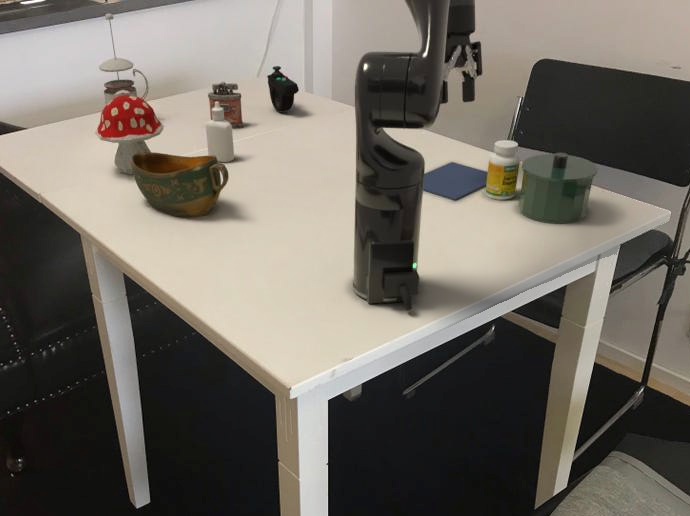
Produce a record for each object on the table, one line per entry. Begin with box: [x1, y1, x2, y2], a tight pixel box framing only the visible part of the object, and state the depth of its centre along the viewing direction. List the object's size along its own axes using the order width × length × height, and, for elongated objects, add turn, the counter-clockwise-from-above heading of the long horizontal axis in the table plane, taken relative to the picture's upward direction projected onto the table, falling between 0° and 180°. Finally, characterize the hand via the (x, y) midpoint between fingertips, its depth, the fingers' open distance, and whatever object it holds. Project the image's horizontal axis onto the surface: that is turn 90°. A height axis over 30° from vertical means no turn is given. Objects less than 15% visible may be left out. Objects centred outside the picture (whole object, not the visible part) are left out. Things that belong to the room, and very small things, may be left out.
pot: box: [518, 171, 594, 224], centre depth 133 cm, size 11×11×8 cm
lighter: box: [207, 81, 244, 129], centre depth 180 cm, size 8×3×10 cm, turn 73°
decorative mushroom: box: [94, 95, 165, 175], centre depth 157 cm, size 14×14×15 cm
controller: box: [266, 65, 300, 113], centre depth 187 cm, size 4×12×10 cm, turn 22°
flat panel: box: [423, 161, 488, 201], centre depth 148 cm, size 12×15×1 cm
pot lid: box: [521, 152, 599, 182], centre depth 130 cm, size 12×12×3 cm
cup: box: [131, 151, 230, 218], centre depth 140 cm, size 13×20×10 cm, turn 28°
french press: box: [98, 13, 149, 106], centre depth 180 cm, size 10×12×25 cm
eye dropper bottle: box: [205, 102, 235, 163], centre depth 160 cm, size 4×6×12 cm
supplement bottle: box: [485, 139, 521, 201], centre depth 139 cm, size 5×5×10 cm
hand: (455, 102), depth 140 cm, fingers open, 8 cm apart
